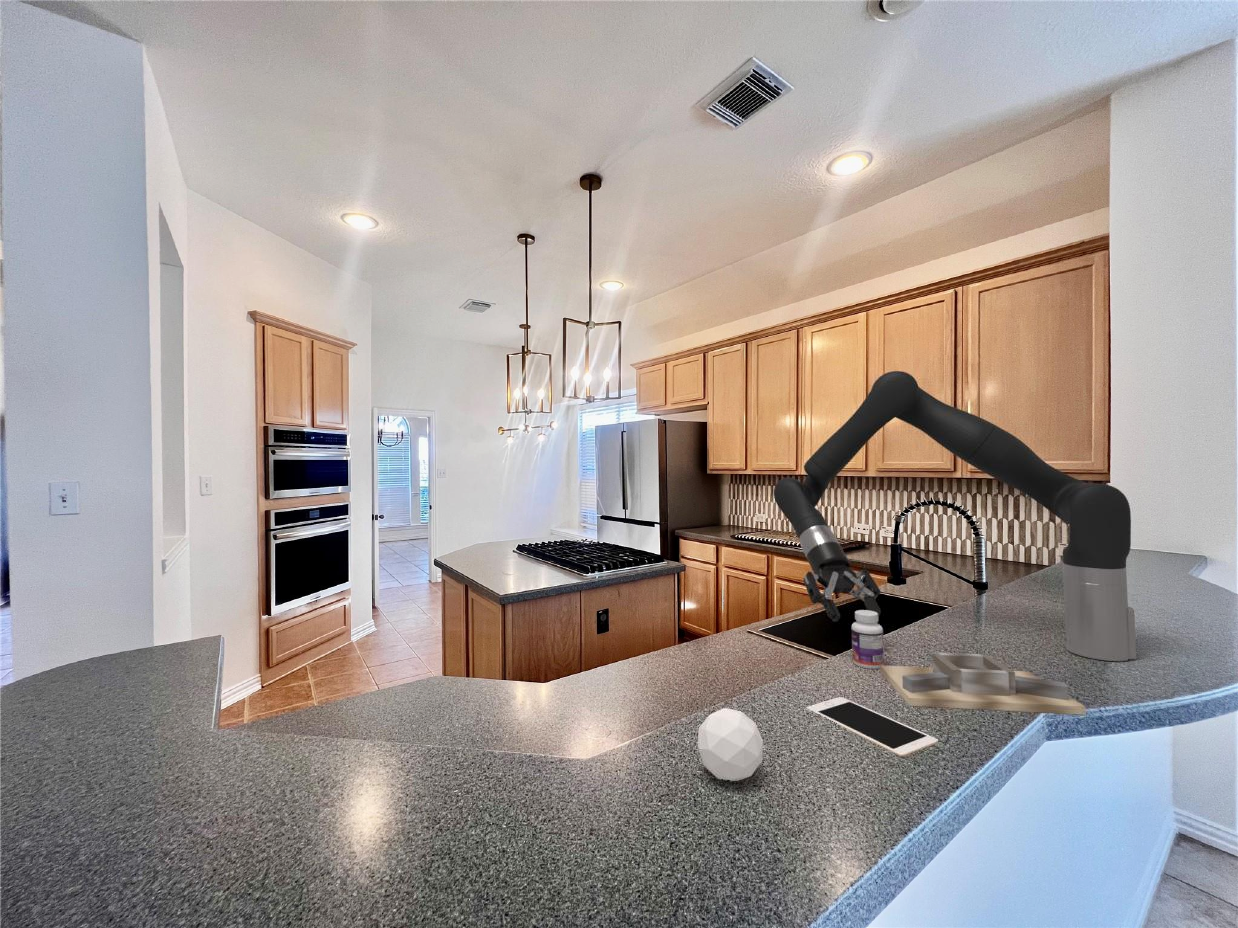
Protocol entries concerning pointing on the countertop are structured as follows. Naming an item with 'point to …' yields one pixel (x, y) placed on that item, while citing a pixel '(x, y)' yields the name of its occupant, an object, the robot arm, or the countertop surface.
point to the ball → (730, 745)
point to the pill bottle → (867, 640)
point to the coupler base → (979, 686)
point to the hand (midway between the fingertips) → (857, 618)
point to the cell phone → (874, 726)
